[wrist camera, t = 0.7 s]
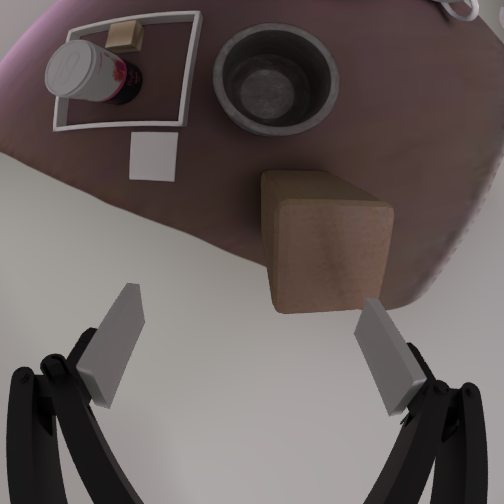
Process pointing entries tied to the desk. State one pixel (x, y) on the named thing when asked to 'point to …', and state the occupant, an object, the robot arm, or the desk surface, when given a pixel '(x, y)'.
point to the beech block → (125, 37)
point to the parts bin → (144, 19)
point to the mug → (471, 16)
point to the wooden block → (322, 241)
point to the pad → (153, 156)
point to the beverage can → (91, 74)
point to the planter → (276, 79)
